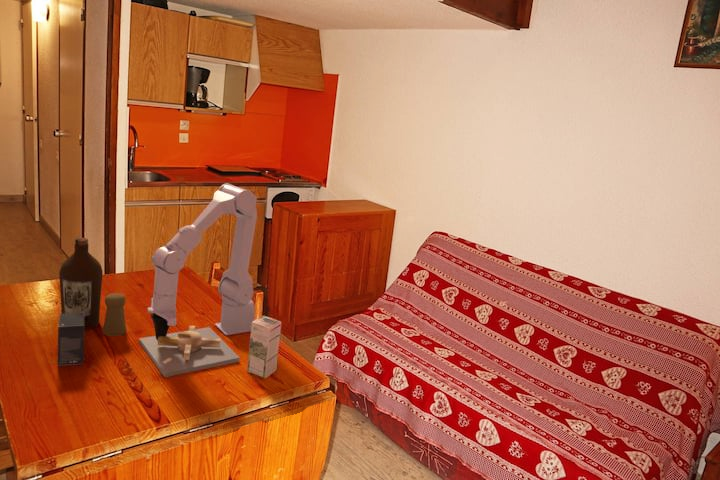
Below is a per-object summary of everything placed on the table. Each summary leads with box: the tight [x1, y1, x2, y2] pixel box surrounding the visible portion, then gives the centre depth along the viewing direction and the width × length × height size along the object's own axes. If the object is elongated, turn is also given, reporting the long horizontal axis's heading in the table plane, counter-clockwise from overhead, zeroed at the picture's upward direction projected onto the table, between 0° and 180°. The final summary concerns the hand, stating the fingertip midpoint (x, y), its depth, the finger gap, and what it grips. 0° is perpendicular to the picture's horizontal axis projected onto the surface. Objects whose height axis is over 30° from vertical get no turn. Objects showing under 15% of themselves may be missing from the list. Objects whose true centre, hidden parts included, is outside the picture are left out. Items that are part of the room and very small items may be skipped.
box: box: [57, 313, 85, 367], centre depth 132 cm, size 8×6×11 cm
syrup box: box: [246, 315, 282, 379], centre depth 138 cm, size 6×6×14 cm
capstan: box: [158, 325, 221, 360], centre depth 143 cm, size 12×12×4 cm
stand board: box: [138, 326, 240, 378], centre depth 144 cm, size 20×20×2 cm
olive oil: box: [58, 237, 103, 331], centre depth 148 cm, size 11×11×25 cm
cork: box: [102, 292, 127, 337], centre depth 148 cm, size 6×6×11 cm
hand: (160, 339), depth 143 cm, fingers closed, pressing on capstan
